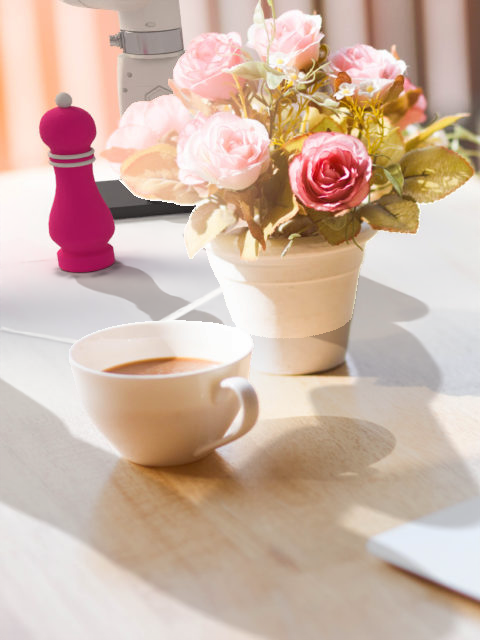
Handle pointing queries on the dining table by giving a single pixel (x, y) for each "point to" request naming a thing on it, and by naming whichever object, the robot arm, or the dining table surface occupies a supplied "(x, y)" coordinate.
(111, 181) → the scale
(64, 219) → the pepper mill
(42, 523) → the dining table surface
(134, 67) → the robot arm
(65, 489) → the dining table surface
